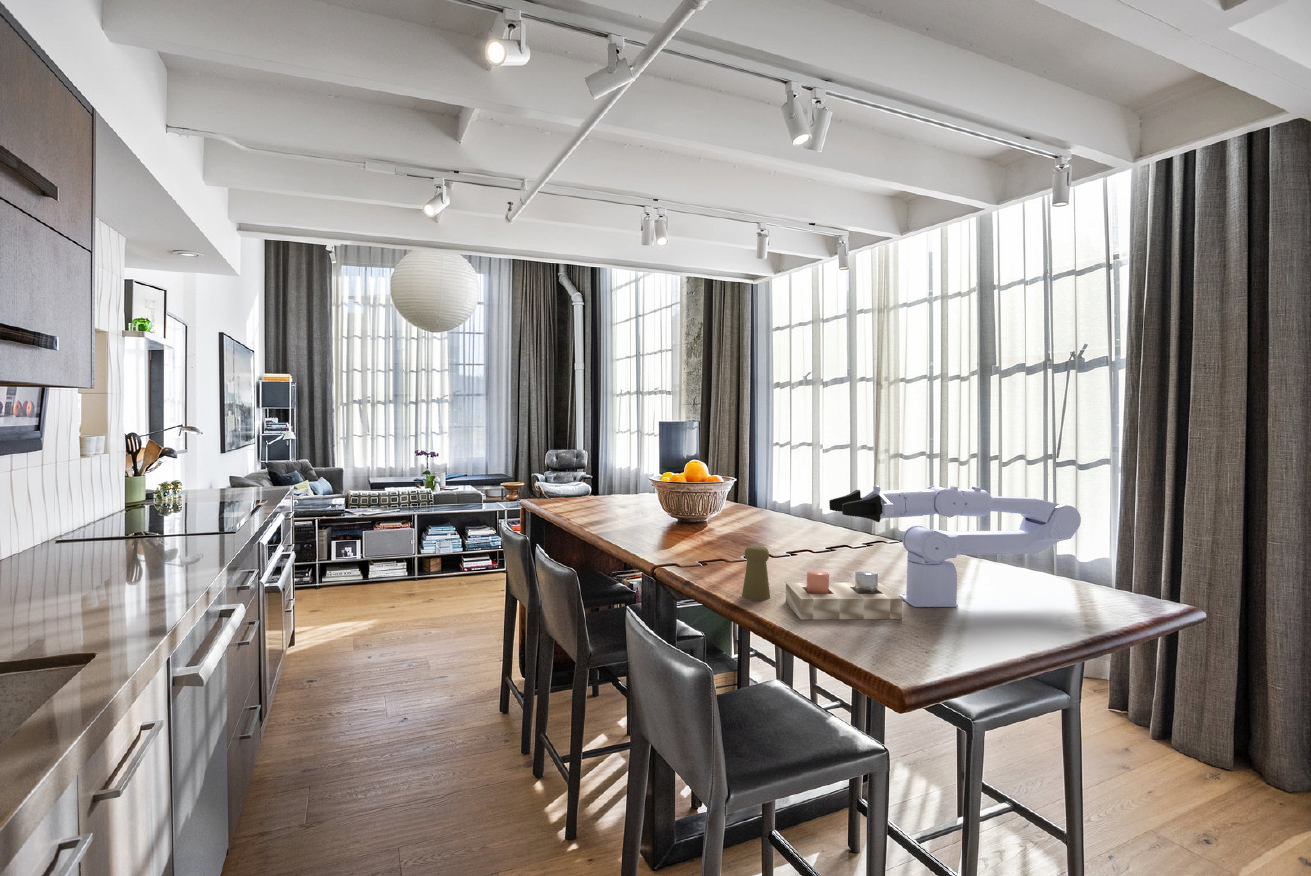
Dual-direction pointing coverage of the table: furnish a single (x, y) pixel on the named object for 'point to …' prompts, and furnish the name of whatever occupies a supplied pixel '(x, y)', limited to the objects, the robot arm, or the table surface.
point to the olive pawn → (756, 573)
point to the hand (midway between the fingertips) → (836, 507)
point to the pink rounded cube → (817, 582)
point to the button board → (843, 603)
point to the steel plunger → (866, 582)
